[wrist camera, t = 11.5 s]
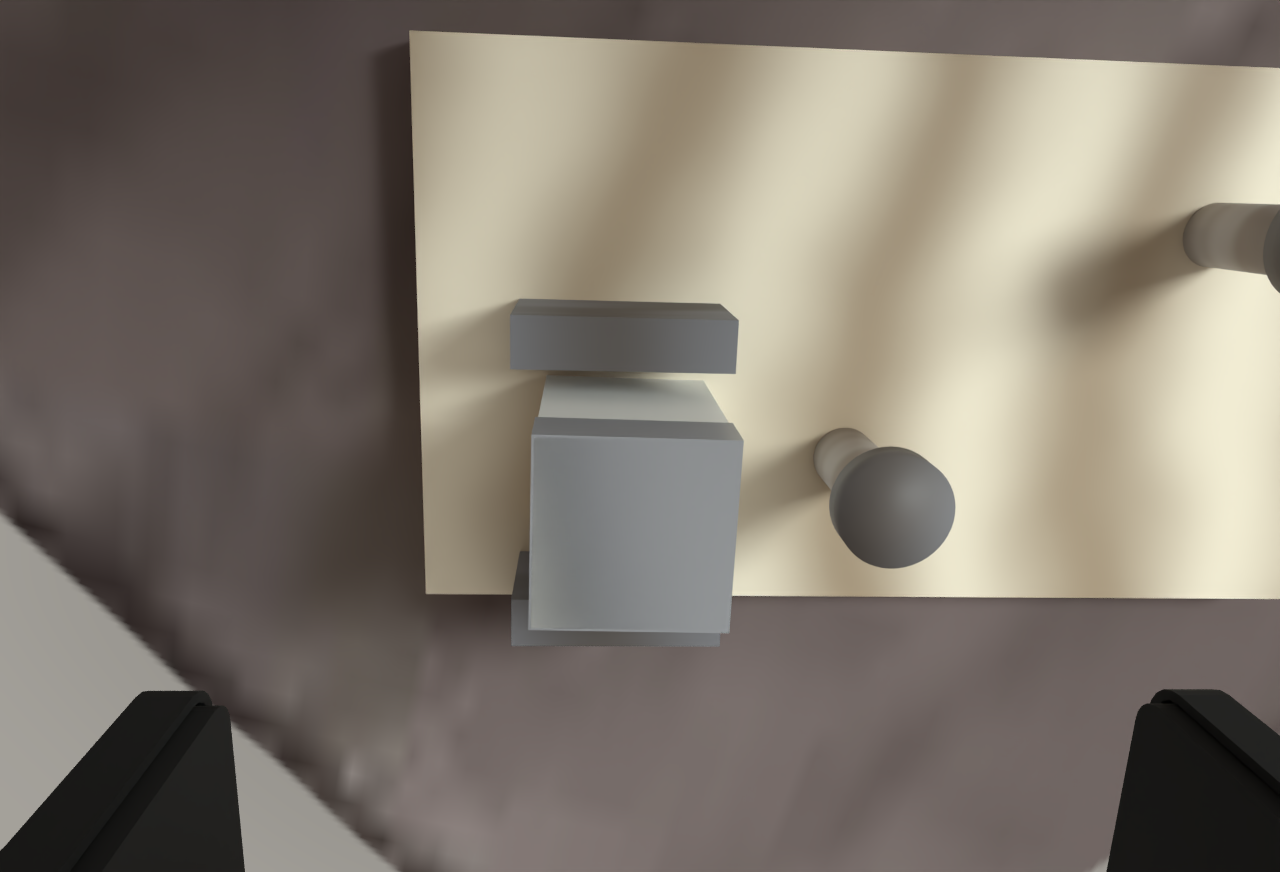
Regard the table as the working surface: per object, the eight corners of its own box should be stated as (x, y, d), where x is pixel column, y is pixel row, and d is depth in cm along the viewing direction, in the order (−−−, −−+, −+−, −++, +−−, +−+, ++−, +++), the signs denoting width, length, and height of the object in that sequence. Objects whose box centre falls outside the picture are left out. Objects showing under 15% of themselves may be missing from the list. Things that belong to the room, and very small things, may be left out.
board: (1362, 78, 24) (1587, 48, 19) (1252, 581, 28) (1414, 677, 22) (418, 38, 22) (365, -8, 17) (433, 575, 26) (393, 677, 21)
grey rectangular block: (705, 378, 24) (743, 440, 18) (695, 528, 25) (728, 633, 19) (544, 373, 24) (531, 433, 18) (541, 525, 25) (527, 630, 19)
